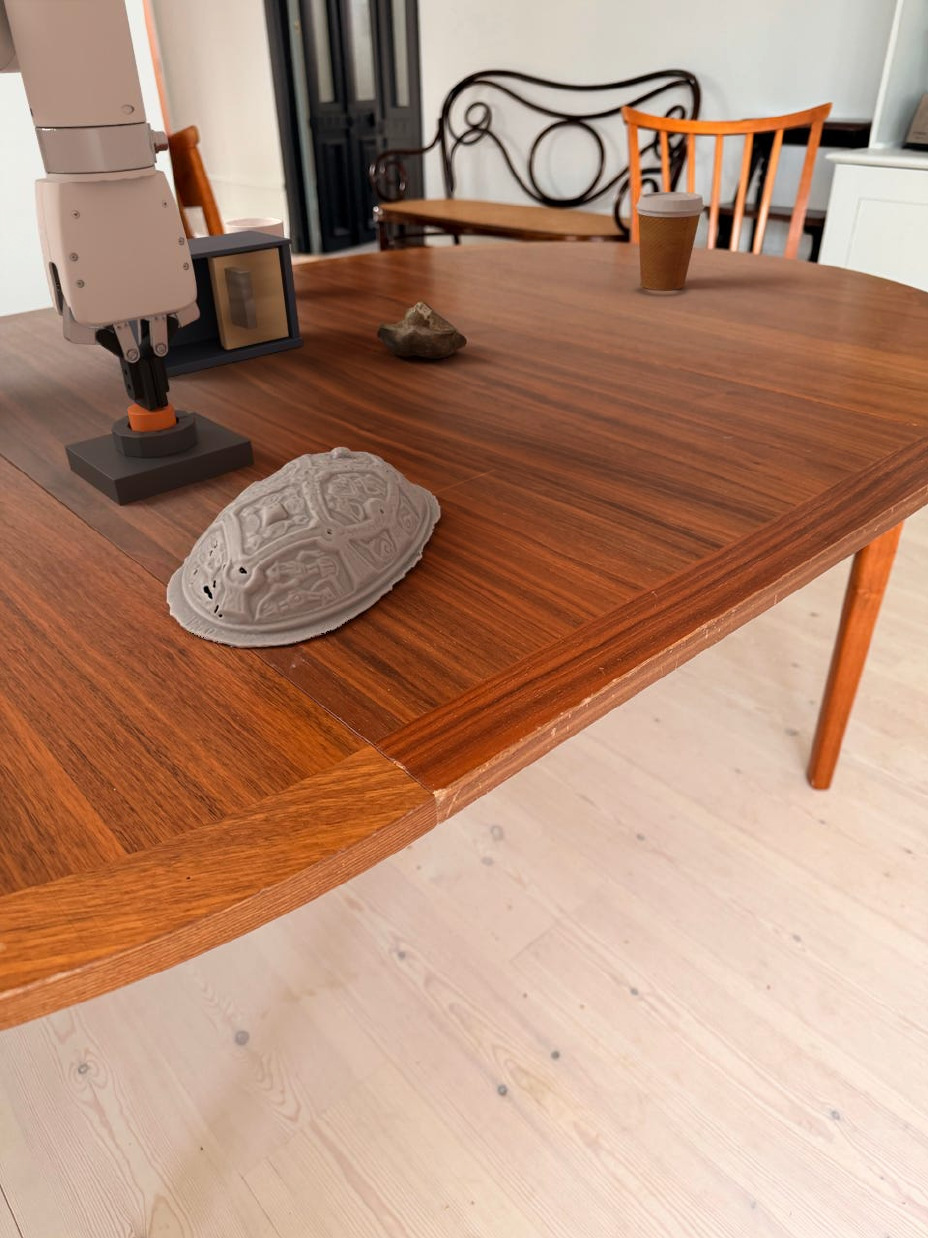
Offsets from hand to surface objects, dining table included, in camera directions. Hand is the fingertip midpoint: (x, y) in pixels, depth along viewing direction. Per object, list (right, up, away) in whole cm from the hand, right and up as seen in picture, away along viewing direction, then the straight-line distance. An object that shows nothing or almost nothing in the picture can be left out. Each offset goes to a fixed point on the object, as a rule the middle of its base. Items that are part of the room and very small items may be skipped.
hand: (151, 404), depth 74 cm
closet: (-4, +13, +32) cm, 35 cm away
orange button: (0, -2, +1) cm, 2 cm away
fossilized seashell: (+21, +13, +30) cm, 39 cm away
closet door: (+3, +14, +30) cm, 33 cm away
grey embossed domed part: (+15, -13, -10) cm, 23 cm away
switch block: (0, -5, +3) cm, 6 cm away
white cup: (-3, +29, +57) cm, 64 cm away
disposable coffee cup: (+55, +31, +59) cm, 86 cm away
